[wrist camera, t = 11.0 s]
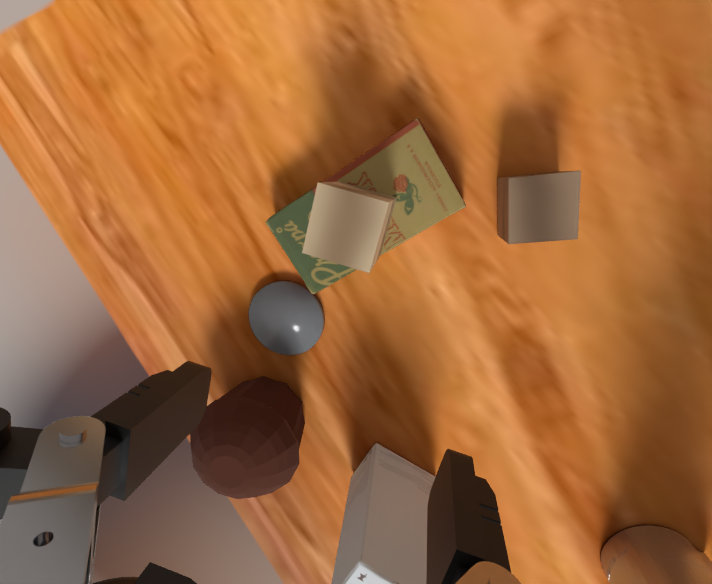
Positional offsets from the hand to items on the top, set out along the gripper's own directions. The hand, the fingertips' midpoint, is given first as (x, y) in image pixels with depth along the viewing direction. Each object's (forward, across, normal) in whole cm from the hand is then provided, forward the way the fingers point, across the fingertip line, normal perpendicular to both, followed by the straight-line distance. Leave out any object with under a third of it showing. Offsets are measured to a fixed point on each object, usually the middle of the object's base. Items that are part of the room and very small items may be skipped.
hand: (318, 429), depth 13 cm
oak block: (+23, +4, -4) cm, 24 cm away
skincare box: (+28, -7, +23) cm, 37 cm away
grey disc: (+27, +9, +8) cm, 29 cm away
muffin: (+27, +9, +20) cm, 35 cm away
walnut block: (+27, -10, -9) cm, 30 cm away
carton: (+27, +4, -4) cm, 28 cm away
